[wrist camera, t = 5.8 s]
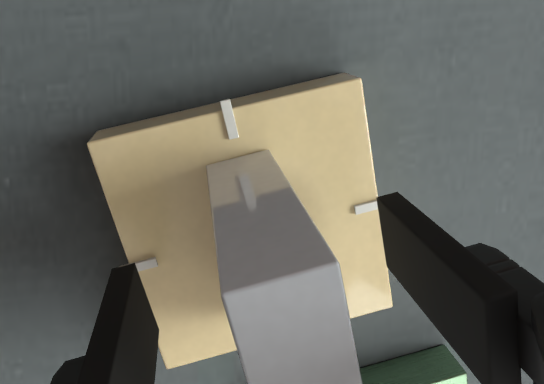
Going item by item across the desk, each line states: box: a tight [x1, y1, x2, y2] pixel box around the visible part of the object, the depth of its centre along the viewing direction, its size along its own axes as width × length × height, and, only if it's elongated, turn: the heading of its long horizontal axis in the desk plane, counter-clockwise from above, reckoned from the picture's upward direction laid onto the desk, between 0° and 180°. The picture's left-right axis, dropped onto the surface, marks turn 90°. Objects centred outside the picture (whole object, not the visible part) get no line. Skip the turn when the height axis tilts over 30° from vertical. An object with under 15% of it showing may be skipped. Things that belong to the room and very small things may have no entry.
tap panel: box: [87, 73, 393, 369], centre depth 20 cm, size 11×11×2 cm
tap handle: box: [206, 150, 363, 384], centre depth 15 cm, size 6×2×9 cm, turn 13°
